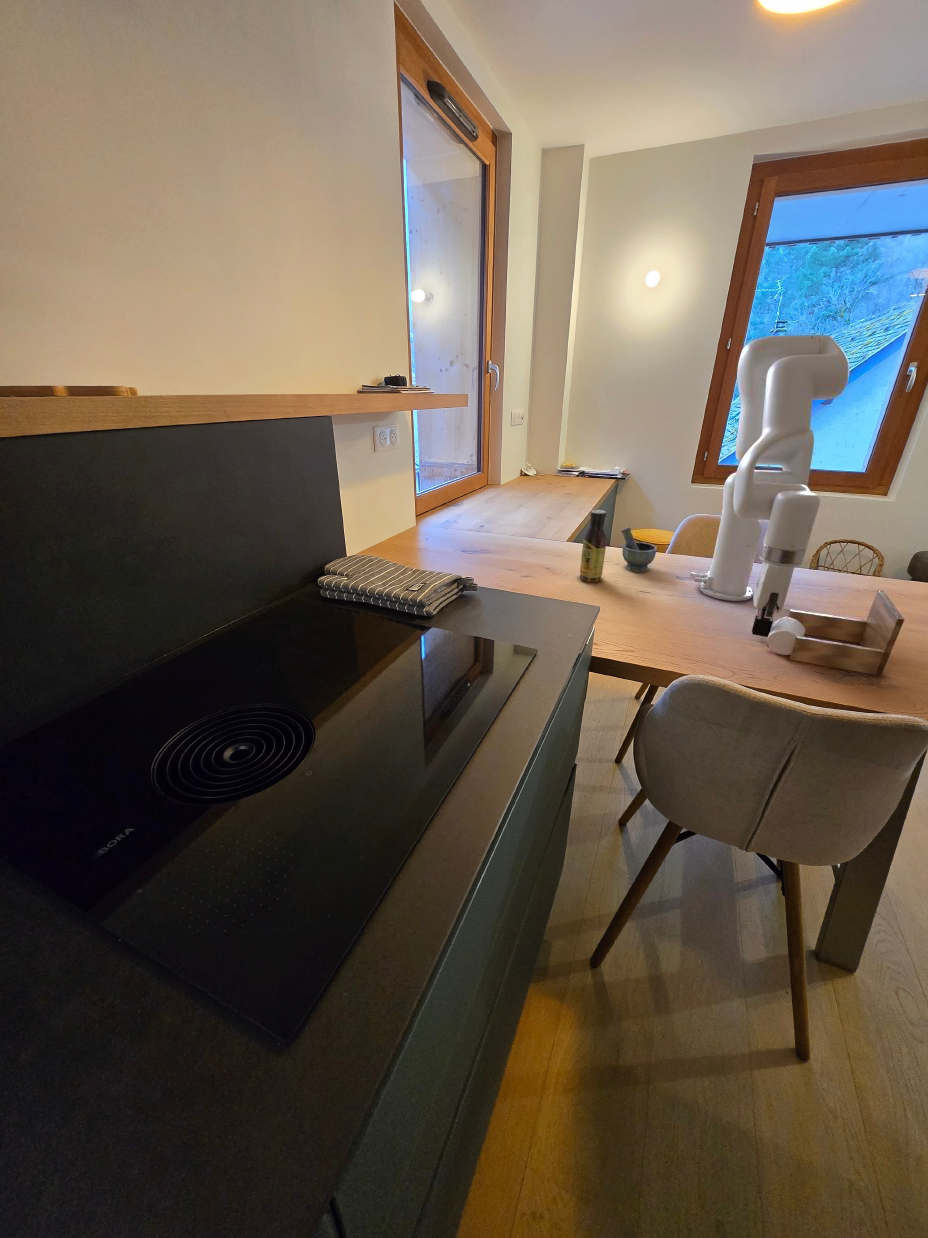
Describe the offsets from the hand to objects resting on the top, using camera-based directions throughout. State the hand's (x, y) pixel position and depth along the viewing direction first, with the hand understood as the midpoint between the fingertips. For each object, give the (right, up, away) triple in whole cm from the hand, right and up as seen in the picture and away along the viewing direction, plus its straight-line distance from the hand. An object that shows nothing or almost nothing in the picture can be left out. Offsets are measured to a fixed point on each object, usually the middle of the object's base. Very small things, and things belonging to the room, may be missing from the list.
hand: (759, 634), depth 107 cm
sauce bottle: (-28, +15, +34) cm, 47 cm away
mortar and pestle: (-13, +19, +42) cm, 48 cm away
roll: (+4, -2, -1) cm, 5 cm away
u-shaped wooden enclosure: (+12, -3, -5) cm, 13 cm away
